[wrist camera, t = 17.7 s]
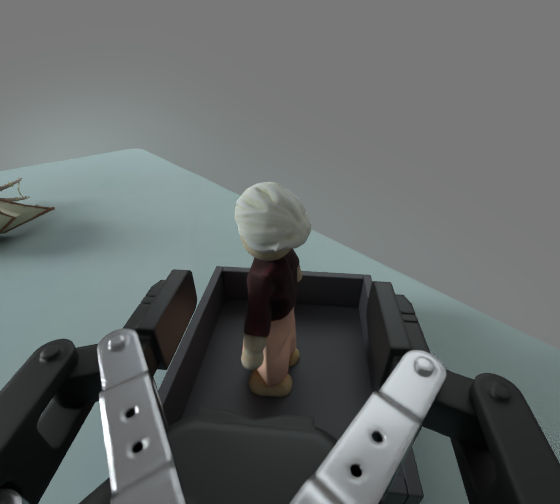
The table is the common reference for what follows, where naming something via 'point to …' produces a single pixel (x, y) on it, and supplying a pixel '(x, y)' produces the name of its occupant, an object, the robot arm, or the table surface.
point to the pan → (305, 373)
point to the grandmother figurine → (271, 283)
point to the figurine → (17, 210)
